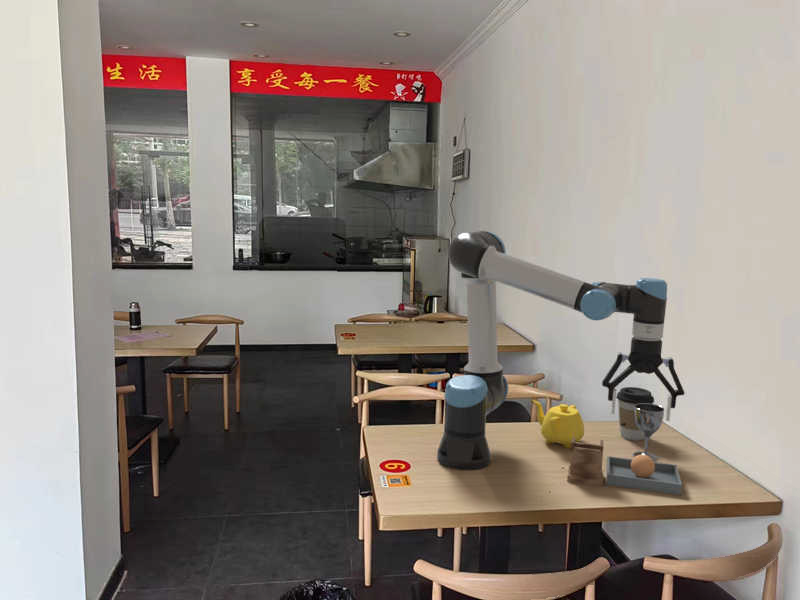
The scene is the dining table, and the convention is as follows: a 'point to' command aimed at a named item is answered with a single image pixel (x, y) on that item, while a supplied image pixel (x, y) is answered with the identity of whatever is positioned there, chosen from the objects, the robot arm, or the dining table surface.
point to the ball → (642, 466)
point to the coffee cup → (631, 410)
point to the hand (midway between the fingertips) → (639, 416)
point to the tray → (659, 481)
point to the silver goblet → (648, 423)
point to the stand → (586, 463)
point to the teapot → (560, 424)
